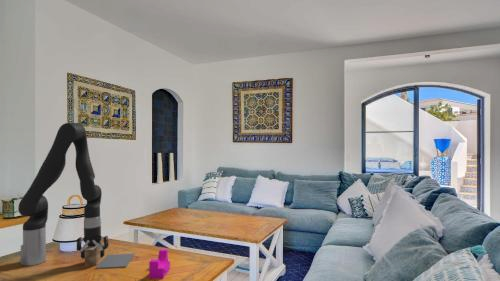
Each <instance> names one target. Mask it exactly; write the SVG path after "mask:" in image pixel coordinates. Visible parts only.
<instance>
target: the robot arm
mask: <svg viewBox="0 0 500 281" xmlns="http://www.w3.org/2000/svg"><path fill="white" fill-rule="evenodd" d="M72 144H73V145H74V149H75V170H76V174H77V176H78V179H79V188H80V193H81V196H82V198H83V199H84V201H86V205H85V206H84V208H83V214H84V215H83V216H84V217H83V237H82V236H79V237H78V238H77V239H76V251H80V257H81V259H82V260H85V248H86V247H87V246H97V247H98V248H99V249H100V259H102V258H103V257H105V250H107V249H108V248H109V246H110V245H109V236H108V235H105V236H102V219H101V201H102V188H101V186H99V185H97V184H96V183H95V178H96V175H95V174H96V173H95V170H94V167H93V164H92V161H91V158H90V152H89V144H88V136H87V131H86V128H85V126H84V125H83V124H82V123H78V122H65V123H63V124H62V125H61V126H60V127H59V129H58V131H57V133H56V135H55V137H54V140H53V142H52V146H51V147H50V149H49V151H48V153H47V155H46V157H45V159H44V161H43V162H42V164H41V166H40V168H39V170H38V172H37V174H36V176H35V178H34V179H33V181H32V183H31V185H30V186H29V188H28V189H27V191H26V192H25V194H24V195H23V197H22V198H21V200H20V201H19V203H18V208H17V209H18V212H19V215H21V216H23V217H28V219H27V220H26V221H25V222H24V223H23V224H22V244H21V245H20V265H21V266H25V267H30V266H31V267H32V266H35V265H39V264H42V263H44V262H46V257H47V254H46V252H47V251H46V246H47V245H46V242H47V240H46V233H47V232H46V231H47V230H46V226H47V225H46V224H47V222H48V219H49V218H48V217H49V216H48V215H49V202H48V199H47V197H45V195H44V194H45V193H46V191H48V189H49V188H51V187H52V186H53V185H54V184H55V183H56V182H57V181H58V180H59V178H60V177H61V175H62V173H63V172H64V170H65V167H66V158H67V157H66V155H67V152H68V150H69V148H70V147H71V145H72ZM102 241H103V242H102ZM83 242H84V244H83V246H82V243H83Z"/></svg>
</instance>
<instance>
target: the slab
mask: <svg viewBox="0 0 500 281" xmlns="http://www.w3.org/2000/svg"><path fill="white" fill-rule="evenodd" d="M100 259H101V258H100V249H99V248H98V247H97V246H87V247H86V248H85V258H84V267H85V268H87V267H88V268H89V267H95V265H97V264H98V263H99V262H100V261H101V260H100Z"/></svg>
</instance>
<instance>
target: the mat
mask: <svg viewBox="0 0 500 281" xmlns="http://www.w3.org/2000/svg"><path fill="white" fill-rule="evenodd" d="M134 257H135V253H120V254H119V253H118V254H117V253H116V254H107V255H106V256H104V258H103V259H102V260H100V261H99V262H98V263H97V265H96V266H95V268H94V269H95V270H97V269H98V270H99V269H119V268H120V269H122V268H123V269H124V268H127V267H128V265H129V264H130V262H131V260H132V259H133V258H134Z"/></svg>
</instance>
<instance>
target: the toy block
mask: <svg viewBox="0 0 500 281" xmlns="http://www.w3.org/2000/svg"><path fill="white" fill-rule="evenodd" d="M168 258H169V249H168V248H167V249H165V248H164V249H163V248H160V249H159V250H158V257H157V259H152V258H151V259H150V260H149V266H148V267H149V268H148V269H149V272H148V273H149V275H148V276H149V279H158V280H160V279H161V280H163V279H165V277H166V276H167V274H168V272H169V271H170V269H171V261H170V260H169V259H168Z"/></svg>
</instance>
